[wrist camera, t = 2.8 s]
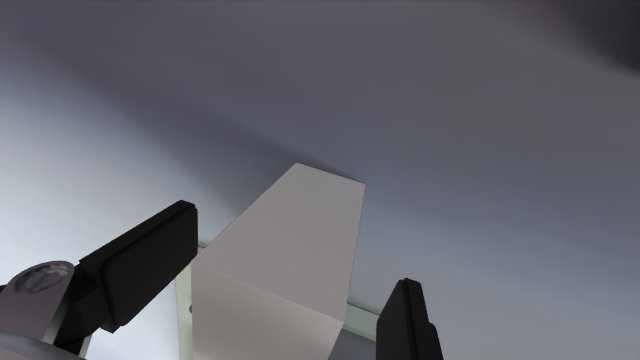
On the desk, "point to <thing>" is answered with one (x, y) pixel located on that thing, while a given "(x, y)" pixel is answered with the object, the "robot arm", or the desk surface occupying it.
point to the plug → (279, 272)
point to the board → (186, 317)
